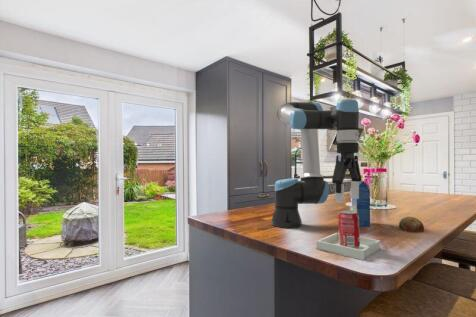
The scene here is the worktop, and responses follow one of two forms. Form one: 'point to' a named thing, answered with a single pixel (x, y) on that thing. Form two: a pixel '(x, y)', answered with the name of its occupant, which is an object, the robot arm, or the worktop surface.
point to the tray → (361, 252)
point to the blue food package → (362, 204)
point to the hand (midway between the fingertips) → (347, 200)
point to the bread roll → (411, 225)
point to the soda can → (349, 229)
